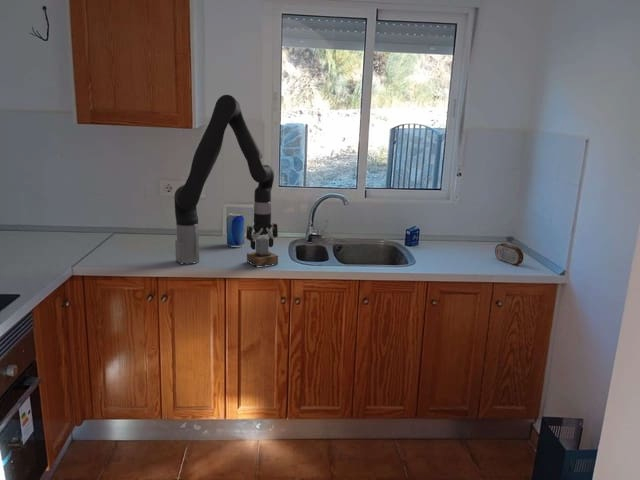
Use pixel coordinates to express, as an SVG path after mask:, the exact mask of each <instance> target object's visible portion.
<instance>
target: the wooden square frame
mask: <svg viewBox="0 0 640 480" xmlns="http://www.w3.org/2000/svg"><path fill="white" fill-rule="evenodd" d="M247 261H249V262H251V263H252V264H254V265H256V266H265V265H272V264H278V265H279V255H277V254H275V253H273V252H271V251H270V250H268V256H264V257H258V256H256V251H254V252H253V251H252V252H248V253H246V262H247ZM272 266H273V265H272Z"/></svg>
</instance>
